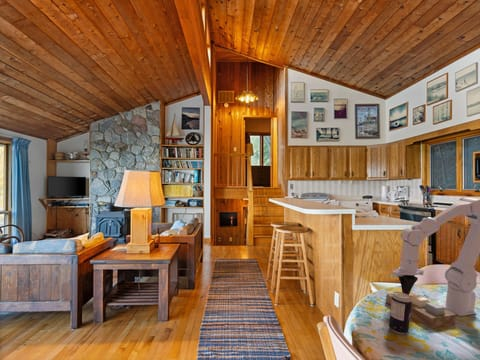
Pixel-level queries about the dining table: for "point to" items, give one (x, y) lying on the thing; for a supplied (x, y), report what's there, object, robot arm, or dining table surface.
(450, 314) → the brown slotted tray
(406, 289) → the robot arm
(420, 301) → the ivory key
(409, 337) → the dining table surface
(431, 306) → the grey block
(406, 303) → the beverage can
